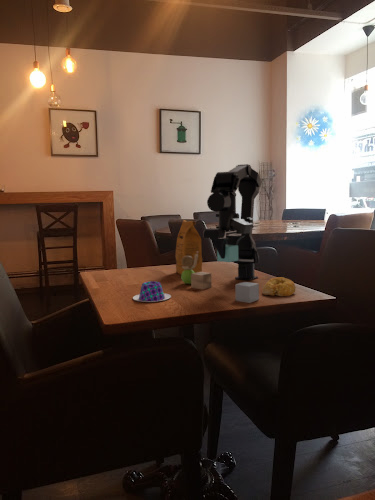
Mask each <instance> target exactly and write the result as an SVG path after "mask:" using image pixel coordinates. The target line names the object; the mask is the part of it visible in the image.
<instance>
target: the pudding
mask: <svg viewBox="0 0 375 500" xmlns="http://www.w3.org/2000/svg"><path fill="white" fill-rule="evenodd" d="M170 298H172V295H171V294H169V293H164V290H163V286H162V284H161V282H159V281H157V280H156V281H153V280H151V281H145V282H142V284H141V287H140V292H139V294H136V295H134V296H133V297H132V299H133V300H134V301H136V302H142V303H144V302H145V303H155V302H161V301H167V300H168V299H170Z"/></svg>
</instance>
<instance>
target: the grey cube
mask: <svg viewBox="0 0 375 500" xmlns="http://www.w3.org/2000/svg"><path fill="white" fill-rule="evenodd" d="M234 288H235V302H241V303H248V304H251V303H253V302H257V301H259V300H260V285H259V283H256V282H247V281H243V282H239V283H236V284H235V287H234Z"/></svg>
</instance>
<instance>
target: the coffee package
mask: <svg viewBox="0 0 375 500" xmlns="http://www.w3.org/2000/svg"><path fill="white" fill-rule="evenodd" d="M195 225H196V222H195V221H193V220H190V221H187V220H186V219H183V221H182V223H181V225H180V229H179V232H178V234H177V238H176V246H175V264H176V265H175V271H176V273H177V274H178V275H179V276H181V275H182V272H183V271H184V270H185V269H183V268H182V266H183V264H182V258H183V257H184V256H191V257H192V258H193V260H194V259H195V257H194V256H195V255H196V254H197V251H198V254H197V255H198V259H197V264H196V266H195V268H193V269H191V270H193V271H194V272H195V273H197V272H203V257H202V252H203V251H202V250H203V249H202V238H201V236H200V234H199V232H198V230H197V229H196V227H195Z"/></svg>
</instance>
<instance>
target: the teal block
mask: <svg viewBox="0 0 375 500" xmlns="http://www.w3.org/2000/svg"><path fill="white" fill-rule="evenodd" d="M216 258H217V260H216V261H217V262H224V263H232V262H233V263H234V261H238V245H228V244H226V247H225V258H224V259H222V258H221V257H220V255H219V253H218V251H217V250H216Z"/></svg>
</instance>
